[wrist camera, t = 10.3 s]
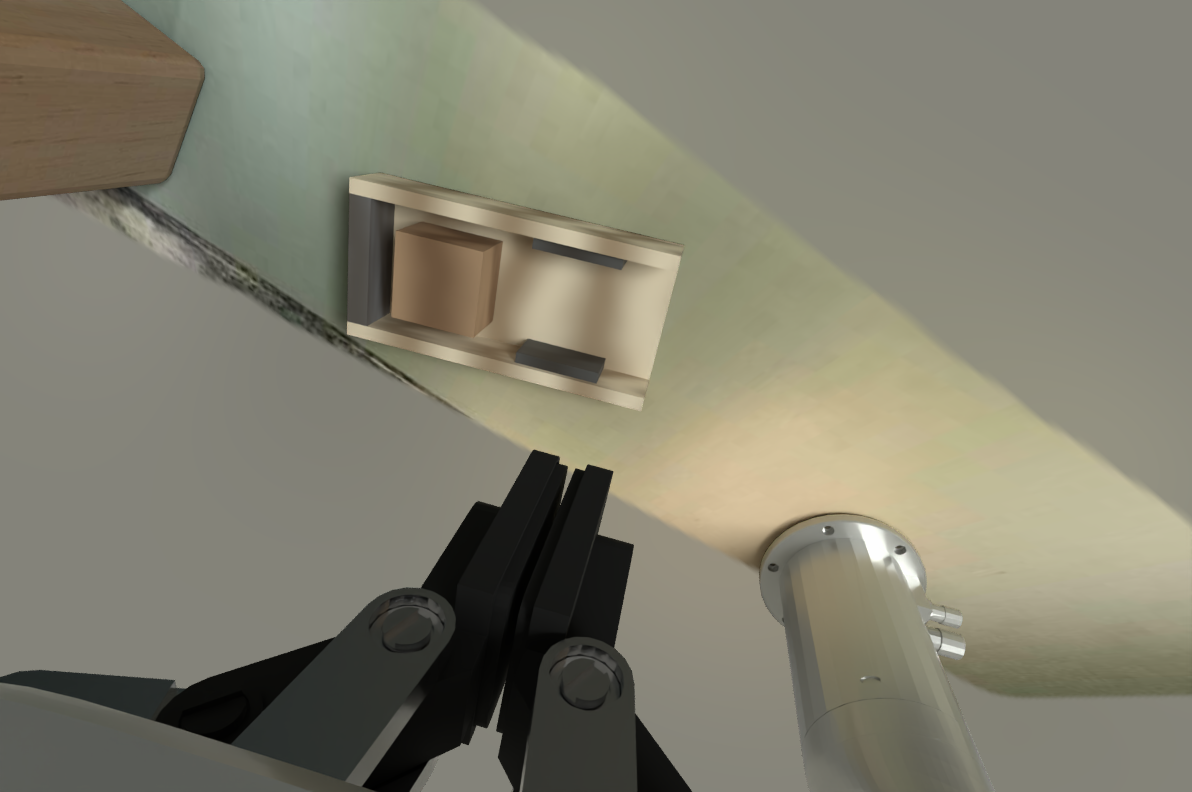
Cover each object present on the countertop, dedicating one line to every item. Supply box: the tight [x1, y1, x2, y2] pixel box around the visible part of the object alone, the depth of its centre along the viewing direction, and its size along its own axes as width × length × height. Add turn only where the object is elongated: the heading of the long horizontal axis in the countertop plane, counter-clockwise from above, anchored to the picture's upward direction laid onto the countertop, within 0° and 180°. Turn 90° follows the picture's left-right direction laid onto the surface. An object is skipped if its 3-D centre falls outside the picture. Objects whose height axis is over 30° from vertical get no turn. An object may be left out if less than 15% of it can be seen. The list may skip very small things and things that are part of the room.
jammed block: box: [391, 222, 503, 338], centre depth 42 cm, size 6×6×4 cm
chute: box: [347, 173, 684, 411], centre depth 42 cm, size 22×11×4 cm, turn 80°
